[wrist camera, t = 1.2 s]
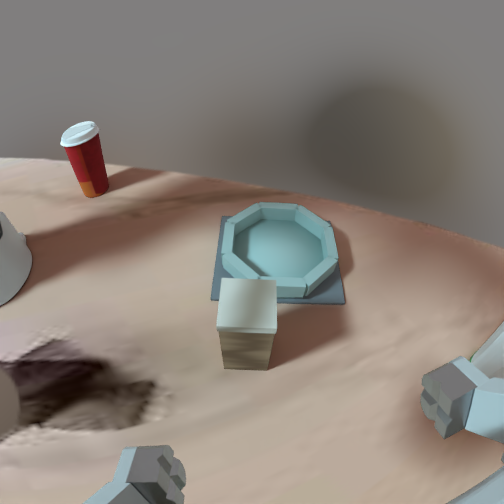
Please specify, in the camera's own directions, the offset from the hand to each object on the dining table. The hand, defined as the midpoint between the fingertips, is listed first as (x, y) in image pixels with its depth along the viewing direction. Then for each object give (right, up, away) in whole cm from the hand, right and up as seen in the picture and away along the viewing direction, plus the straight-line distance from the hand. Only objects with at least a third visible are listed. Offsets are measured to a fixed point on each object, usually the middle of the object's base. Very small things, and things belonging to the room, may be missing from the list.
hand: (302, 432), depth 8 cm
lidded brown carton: (-2, -6, +28) cm, 29 cm away
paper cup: (-33, +18, +49) cm, 62 cm away
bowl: (+2, +5, +38) cm, 38 cm away
